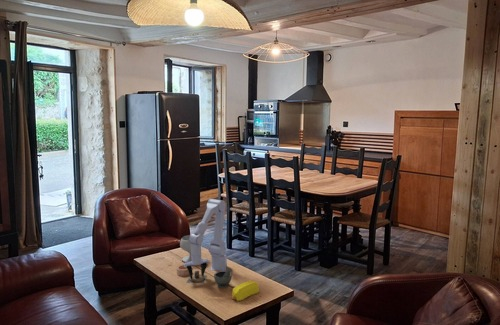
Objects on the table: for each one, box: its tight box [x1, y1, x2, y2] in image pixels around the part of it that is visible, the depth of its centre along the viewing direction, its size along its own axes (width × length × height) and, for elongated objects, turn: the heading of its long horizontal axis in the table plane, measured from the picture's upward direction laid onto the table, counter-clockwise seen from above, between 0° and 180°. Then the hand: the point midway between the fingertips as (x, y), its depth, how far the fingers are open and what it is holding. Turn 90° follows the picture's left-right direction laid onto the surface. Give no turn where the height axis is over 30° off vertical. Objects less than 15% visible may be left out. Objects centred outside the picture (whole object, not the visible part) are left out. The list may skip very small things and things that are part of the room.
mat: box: [186, 275, 208, 284], centre depth 220 cm, size 10×10×1 cm
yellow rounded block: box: [231, 280, 260, 302], centre depth 201 cm, size 18×7×8 cm
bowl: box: [175, 264, 190, 277], centre depth 229 cm, size 8×8×4 cm
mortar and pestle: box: [213, 267, 233, 289], centre depth 211 cm, size 11×9×12 cm
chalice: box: [179, 234, 192, 263], centre depth 250 cm, size 14×14×15 cm
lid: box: [188, 270, 205, 282], centre depth 220 cm, size 9×9×4 cm
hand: (196, 276), depth 220 cm, fingers open, 6 cm apart
